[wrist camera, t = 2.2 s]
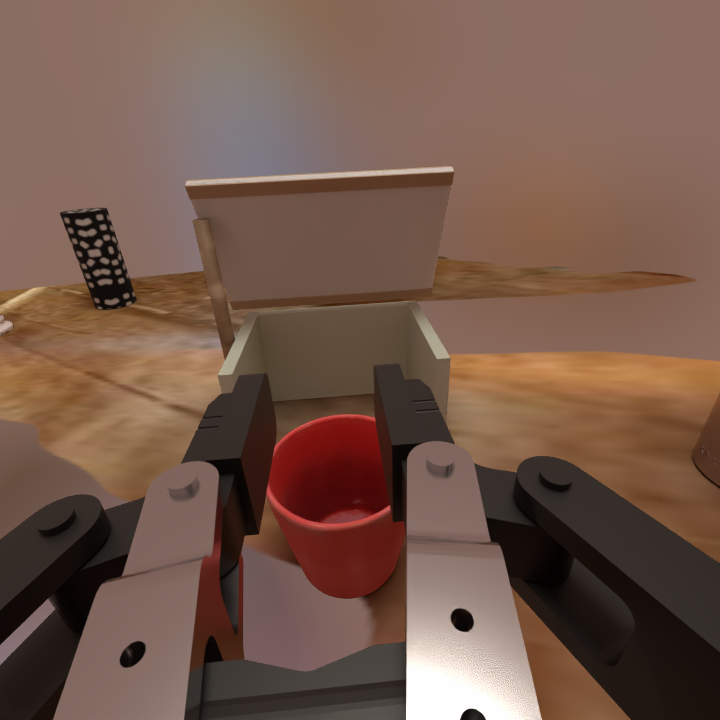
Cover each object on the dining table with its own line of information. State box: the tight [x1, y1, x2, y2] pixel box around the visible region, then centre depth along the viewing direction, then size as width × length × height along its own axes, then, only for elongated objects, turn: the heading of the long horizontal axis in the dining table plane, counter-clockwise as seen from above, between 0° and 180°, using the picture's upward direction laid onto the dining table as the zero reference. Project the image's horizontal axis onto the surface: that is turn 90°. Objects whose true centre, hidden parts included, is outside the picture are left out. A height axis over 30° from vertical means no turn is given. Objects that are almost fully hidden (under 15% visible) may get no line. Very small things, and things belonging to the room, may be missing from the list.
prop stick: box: [193, 218, 235, 360], centre depth 41 cm, size 1×1×24 cm
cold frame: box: [218, 301, 450, 423], centre depth 43 cm, size 20×15×12 cm
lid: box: [185, 166, 454, 310], centre depth 40 cm, size 23×15×1 cm
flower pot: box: [266, 414, 406, 599], centre depth 29 cm, size 11×11×10 cm
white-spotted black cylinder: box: [60, 208, 136, 310], centre depth 86 cm, size 8×8×20 cm
